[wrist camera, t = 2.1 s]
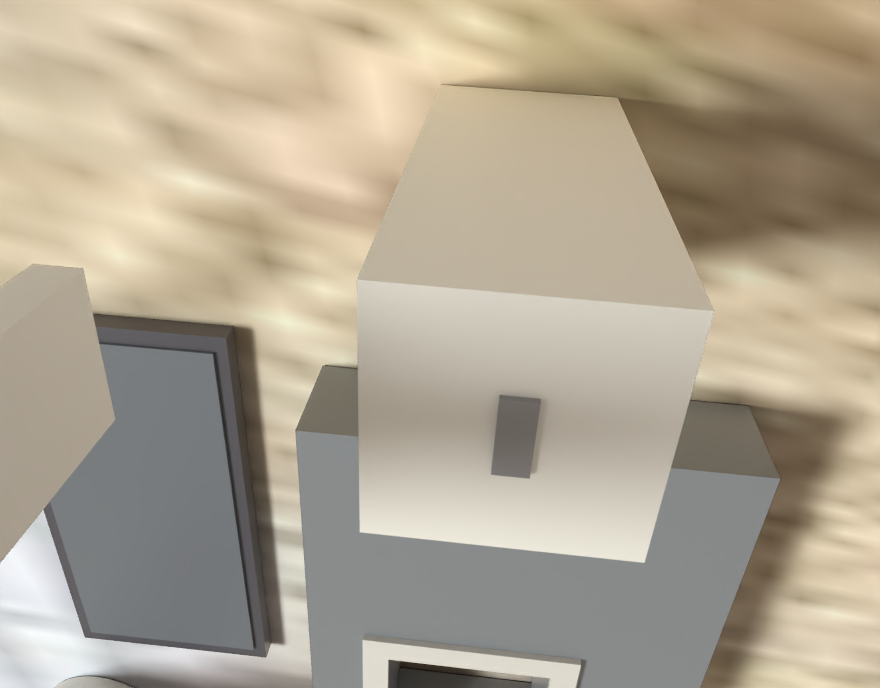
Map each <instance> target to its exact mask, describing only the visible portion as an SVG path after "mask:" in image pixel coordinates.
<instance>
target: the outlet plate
mask: <svg viewBox="0 0 880 688" xmlns="http://www.w3.org/2000/svg"><path fill="white" fill-rule="evenodd" d="M295 431H296V446H297V460H298V475H299V490H300V504H301V519H302V534H303V548H304V563H305V578H306V592H307V607H308V622H309V636H310V651H311V666H312V680H313V688H700V687H701V684H702V681H703V679H704V676H705V674H706V671H707V668H708V666H709V663H710V661H711V658H712V655H713V653H714V650H715V648H716V645H717V642H718V640H719V637H720V635H721V632H722V629H723V627H724V624H725V622H726V619H727V617H728V614H729V611H730V609H731V606H732V604H733V601H734V598H735V596H736V593H737V591H738V588H739V585H740V583H741V580H742V578H743V575H744V572H745V570H746V567H747V565H748V562H749V559H750V557H751V554H752V552H753V549H754V546H755V544H756V541H757V539H758V536H759V533H760V531H761V528H762V526H763V523H764V520H765V518H766V515H767V513H768V510H769V507H770V505H771V502H772V500H773V497H774V494H775V492H776V489H777V487H778V484H779V481H780V477H779V474H778V472H777V470H776V467H775V465H774V463H773V461H772V458H771V456H770V454H769V451H768V449H767V447H766V445H765V442H764V440H763V438H762V435H761V433H760V431H759V428H758V426H757V424H756V422H755V419H754V417H753V415H752V412H751V410H750V408H749V406H743V405H733V404H722V403H711V402H701V401H689V405H688V408H687V412H686V415H685V419H684V422H683V426H682V430H681V433H680V437H679V440H678V444H677V448H676V451H675V455H674V458H673V462H672V466H671V469H670V473H669V476H668V480H667V484H666V487H665V491H664V494H663V498H662V502H661V505H660V509H659V512H658V516H657V520H656V523H655V527H654V530H653V534H652V538H651V541H650V545H649V548H648V552H647V556H646V559H645V563H641V562H631V561H622V560H613V559H603V558H594V557H585V556H576V555H566V554H557V553H548V552H538V551H529V550H520V549H510V548H501V547H492V546H482V545H473V544H464V543H455V542H445V541H436V540H427V539H417V538H408V537H399V536H389V535H380V534H371V533H361V532H360V519H359V430H358V369H352V368H342V367H331V366H322V369H321V371H320V374H319V376H318V378H317V381H316V383H315V385H314V388H313V390H312V392H311V395H310V397H309V400H308V402H307V404H306V407H305V409H304V411H303V414H302V416H301V419H300V421H299V423H298V426H297V428H296V430H295ZM400 661H405V662H413V663H422V664H430V665H439V666H448V667H456V668H465V669H473V670H482V671H490V672H499V673H508V674H516V675H525V676H532V682H531V683H526V682H518V681H509V680H501V679H492V678H484V677H475V676H467V675H458V674H449V673H441V672H432V671H424V670H415V669H407V668H400Z"/></svg>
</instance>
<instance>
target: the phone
mask: <svg viewBox="0 0 880 688" xmlns="http://www.w3.org/2000/svg"><path fill="white" fill-rule="evenodd" d="M93 317H94V322H95V326H96V331H97V336H98V341H99V345H100V350H101V355H102V359H103V364H104V369H105V373H106V378H107V383H108V387H109V392H110V397H111V401H112V406H113V411H114V415H115V421H114V422H113V423H112V424H111V426H110V427H109V428H108V429H107V431H106V432H105V433H104V434H103V436H102V437H101V438H100V439H99V441H98V442H97V443H96V444H95V446H94V447H93V448H92V449H91V451H90V452H89V453H88V454H87V456H86V457H85V458H84V459H83V461H82V462H81V463H80V464H79V466H78V467H77V468H76V469H75V471H74V472H73V473H72V474H71V476H70V477H69V478H68V479H67V480H66V482H65V483H64V484H63V485H62V487H61V488H60V489H59V490H58V492H57V493H56V494H55V495H54V497H53V498H52V499H51V500H50V502H49V503H48V504H47V505H46V507H45V508H44V509H43V510H44V513H45V516H46V519H47V522H48V525H49V528H50V531H51V534H52V537H53V540H54V543H55V546H56V550H57V553H58V556H59V559H60V562H61V565H62V568H63V571H64V574H65V577H66V580H67V583H68V587H69V590H70V593H71V596H72V599H73V602H74V605H75V608H76V611H77V614H78V617H79V620H80V624H81V627H82V630H83V633H84V636H85V637H87V638H96V639H105V640H114V641H123V642H132V643H141V644H150V645H159V646H168V647H177V648H186V649H195V650H204V651H213V652H222V653H231V654H240V655H249V656H258V657H267V654H268V651H269V648H270V645H271V639H270V630H269V622H268V613H267V605H266V596H265V588H264V579H263V571H262V563H261V554H260V546H259V537H258V529H257V520H256V512H255V503H254V495H253V486H252V478H251V469H250V461H249V453H248V444H247V436H246V427H245V419H244V410H243V402H242V393H241V385H240V376H239V368H238V359H237V351H236V343H235V334H234V326H224V325H213V324H201V323H190V322H179V321H168V320H156V319H145V318H134V317H122V316H111V315H100V314H93Z"/></svg>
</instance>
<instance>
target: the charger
mask: <svg viewBox="0 0 880 688" xmlns="http://www.w3.org/2000/svg"><path fill="white" fill-rule="evenodd" d="M713 315H714V309H713V307H712V305H711V302H710V300H709V298H708V296H707V294H706V291H705V289H704V287H703V285H702V283H701V280H700V278H699V276H698V274H697V272H696V269H695V267H694V265H693V263H692V261H691V258H690V256H689V254H688V252H687V250H686V247H685V245H684V243H683V241H682V239H681V236H680V234H679V232H678V230H677V228H676V225H675V223H674V221H673V219H672V217H671V214H670V212H669V210H668V208H667V206H666V203H665V201H664V199H663V197H662V195H661V192H660V190H659V188H658V186H657V184H656V181H655V179H654V177H653V175H652V173H651V170H650V168H649V166H648V164H647V162H646V159H645V157H644V155H643V153H642V151H641V148H640V146H639V144H638V142H637V140H636V137H635V135H634V133H633V131H632V129H631V126H630V124H629V122H628V120H627V118H626V115H625V113H624V111H623V109H622V107H621V104H620V102H619V100H618V98H617V97H604V96H590V95H576V94H562V93H549V92H535V91H521V90H507V89H494V88H480V87H466V86H452V85H440V87H439V90H438V92H437V94H436V97H435V99H434V101H433V104H432V106H431V108H430V111H429V113H428V115H427V118H426V120H425V122H424V125H423V127H422V129H421V132H420V134H419V136H418V139H417V141H416V143H415V146H414V148H413V150H412V153H411V155H410V157H409V160H408V162H407V164H406V167H405V169H404V171H403V174H402V176H401V178H400V180H399V183H398V185H397V187H396V190H395V192H394V194H393V197H392V199H391V201H390V204H389V206H388V208H387V211H386V213H385V215H384V218H383V220H382V222H381V225H380V227H379V229H378V232H377V234H376V236H375V239H374V241H373V243H372V246H371V248H370V250H369V253H368V255H367V257H366V260H365V262H364V264H363V267H362V269H361V271H360V273H359V276H358V278H357V340H358V430H359V519H360V532H361V533H371V534H380V535H389V536H399V537H408V538H417V539H427V540H436V541H445V542H455V543H464V544H473V545H482V546H492V547H501V548H510V549H520V550H529V551H538V552H548V553H557V554H566V555H576V556H585V557H594V558H603V559H613V560H622V561H631V562H641V563H645V559H646V556H647V552H648V548H649V545H650V541H651V538H652V534H653V530H654V527H655V523H656V520H657V516H658V512H659V509H660V505H661V502H662V498H663V494H664V491H665V487H666V484H667V480H668V476H669V473H670V469H671V466H672V462H673V458H674V455H675V451H676V448H677V444H678V440H679V437H680V433H681V430H682V426H683V422H684V419H685V415H686V412H687V408H688V405H689V401H690V397H691V394H692V390H693V387H694V383H695V379H696V376H697V372H698V369H699V365H700V361H701V358H702V354H703V351H704V347H705V343H706V340H707V336H708V333H709V329H710V325H711V322H712V318H713Z"/></svg>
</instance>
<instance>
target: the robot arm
mask: <svg viewBox="0 0 880 688" xmlns="http://www.w3.org/2000/svg"><path fill="white" fill-rule="evenodd" d="M114 421H115V415H114V411H113V406H112V401H111V397H110V392H109V387H108V383H107V378H106V373H105V369H104V364H103V359H102V355H101V350H100V345H99V341H98V336H97V331H96V326H95V322H94V317H93V312H92V308H91V303H90V298H89V294H88V289H87V284H86V280H85V275H84V270H83V268H73V267H62V266H51V265H40V264H32V265H31V266H29V267H28V268H27V269H25V270H24V271H22V272H21V273H20V274H18V275H17V276H16V277H14V278H13V279H11V280H10V281H9V282H7V283H6V284H4V285H3V286H2V287H0V563H1V561H2V560H3V559H4V558H5V556H6V555H7V554H8V553H9V552H10V550H11V549H12V548H13V547H14V545H15V544H16V543H17V542H18V540H19V539H20V538H21V537H22V535H23V534H24V533H25V532H26V530H27V529H28V528H29V527H30V525H31V524H32V523H33V522H34V520H35V519H36V518H37V517H38V515H39V514H40V513H41V512H42V510H43V509H44V508H45V507H46V505H47V504H48V503H49V502H50V500H51V499H52V498H53V497H54V495H55V494H56V493H57V492H58V490H59V489H60V488H61V487H62V485H63V484H64V483H65V482H66V480H67V479H68V478H69V477H70V476H71V474H72V473H73V472H74V471H75V469H76V468H77V467H78V466H79V464H80V463H81V462H82V461H83V459H84V458H85V457H86V456H87V454H88V453H89V452H90V451H91V449H92V448H93V447H94V446H95V444H96V443H97V442H98V441H99V439H100V438H101V437H102V436H103V434H104V433H105V432H106V431H107V429H108V428H109V427H110V426H111V424H112V423H113V422H114Z"/></svg>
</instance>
